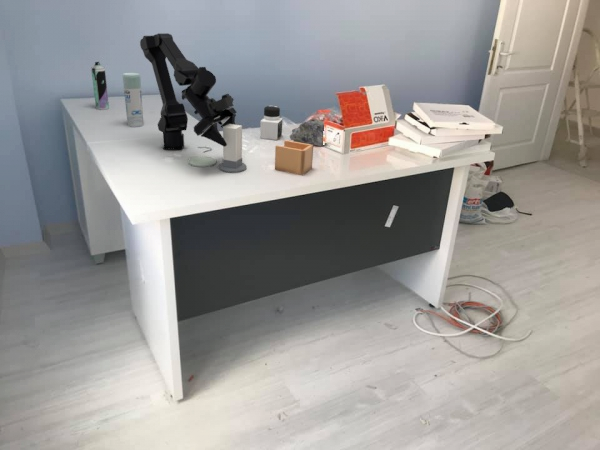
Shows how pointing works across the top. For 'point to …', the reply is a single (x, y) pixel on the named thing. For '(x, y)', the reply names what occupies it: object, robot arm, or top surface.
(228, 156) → the tall white pillar block
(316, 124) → the mineral rock
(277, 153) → the chute
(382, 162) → the top surface
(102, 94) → the spray can
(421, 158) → the top surface
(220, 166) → the pad dark
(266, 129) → the medicine bottle
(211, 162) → the pad pale
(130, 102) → the spray paint can
